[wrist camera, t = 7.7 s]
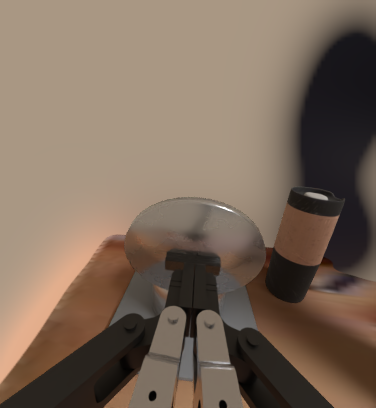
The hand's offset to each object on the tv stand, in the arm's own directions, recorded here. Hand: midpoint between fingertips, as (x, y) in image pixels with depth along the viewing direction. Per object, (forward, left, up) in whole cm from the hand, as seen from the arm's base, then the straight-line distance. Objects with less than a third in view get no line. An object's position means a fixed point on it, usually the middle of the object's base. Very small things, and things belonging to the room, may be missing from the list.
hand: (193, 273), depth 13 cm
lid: (0, -6, -2) cm, 6 cm away
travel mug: (-19, -20, -19) cm, 33 cm away
